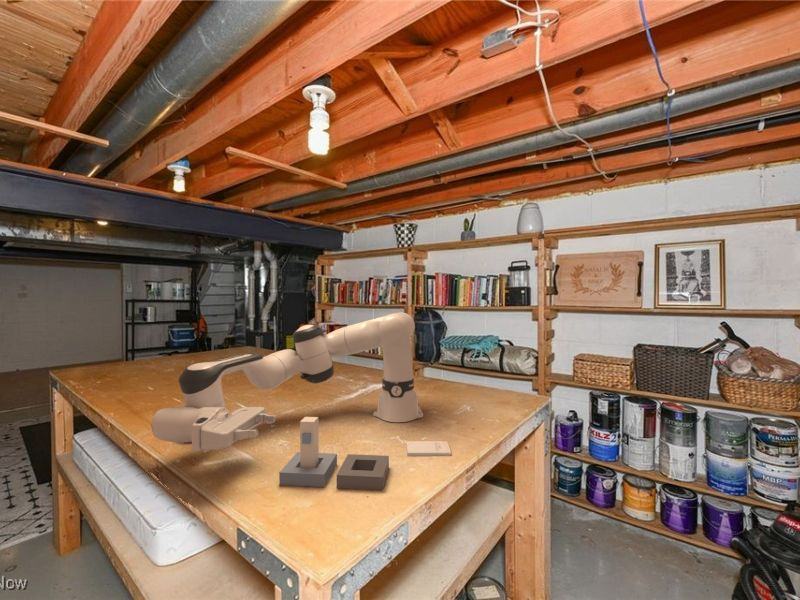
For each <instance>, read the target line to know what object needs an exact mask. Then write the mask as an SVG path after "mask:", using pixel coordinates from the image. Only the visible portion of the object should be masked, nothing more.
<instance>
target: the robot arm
mask: <svg viewBox="0 0 800 600" xmlns="http://www.w3.org/2000/svg"><path fill="white" fill-rule="evenodd" d="M415 328H416V324H415V320H414V319H413V317H412V316H411V315H410V314H408V313H406V312H402V311H399V312H394V313H389V314H387V315H385V316H381V317H377V318H376V317H375V318H373V319H369V320H364V321H362V322H358V323H354V324H350V325H347V326H343V327H340V328H338V329H335V330H333V331H331V332H329V333H326V332H327V330H326V329H323V328H322V327H321V326H318V325H315V324H306V325H303V326H301V327H300V326H299V328H298V329H297V330H295V331H294V332H293V334H292V340H293V343H294V345H295V350H294V349H291V348H287V349H282V350H278V351H275V352H273V353H270V354H268V355H266V356H263V355H262V354H261V353H257V352H247V353H241V354H238V355H233V356H228V357H224V358H221V359H216V360H212V361H204V362H203V361H202V362H198V363H193V364H190V365H187V366H186V367H185V369H183V371H182V373H181V374H180V375H179V377H178V380H177V382H178V384H179V387H180V390H181V392H182V396H183V401H184V405H183V406H175V407H174V406H173V407H165V408H161V409H159V410H157V411H156V412H155V413H154V416H153V418H152V420H151V431H152V434H153V437H154V438H156V439H157V440H159V441H163V442H169V443H183V444H185V443H184V442H189V441H192V443H191V446H192V447H191V448H192V452H200V451H204V450H205V451H216V450H218V451H219V450H223V449H227V448H229V447H230V446H231V445H233V444H235V442H237V441H241V440H242V441H243V440H246V439H254V438H256V437H257V436H258V435H259V430H258V429H259V428H255V427H257V426H258V425H260V424H261V423H266V424H267V425H268V424H269V425H270V424H271V425H272V424H274V423H275V422H276V416H275V415H270V414H267V413H266V408H265V407H263V406H250V407H249V406H248V407H247V406H245V407H240V408H238V409H236V410H234V411H232V412H229V410H228V408H227V407H226V401H225V397H224V392H223V386H222V380H223V377H224V375H228V374H230V373H235V372H237V371H241V370H242V371H243V373H244V374H245V376H246V377H247V379H248V381H249V382H250V383H251V384H252V385H253V386H254V387H256V388H258V389H261V390H265V391H266V390H268V391H269V390H273V389H274V388H276V387H278V386H280V385H281V384H283V383H285V382H286V381H287V380H289V379H290V378H292V377H293V376H295V375H298V374H301V375H300V376H299V377H300V380H305V381H306V382H308V383H311V384H314V385H315V384H322V383H324V382H325V383H326V382H327V381H328V380H329V379H331V378H332V377H333V375H334V374H335V370H334V369H335V368H334V364H333V362H332V361H333V360H332V357H333V358H334V357H336V358H337V357H345V356H350V355H356V354H358V353H362V352H363V353H364V352H367V351H370V350H374V349H378V348H381V353H382V361H383V362H382V363H383V369H382V370H383V373H382V374H383V375H382V376H383V377H382V381H381V389H382V390H381V391H380V392H379V393H378V398H377V399H378V400H377V409H376V410H374V412H373V414H372V415H373V417H375V418H376V417H377V418H379V419H381V420H382V421H384V422H390V423H406V422H407V423H408V422H411V421H413V420H416V419H421V418H424V413H423V411H422V409H421V407H420V404H419V401H418V400H419V399H418V397H419V395H418V394H417V392H416V391H415V390H414V388H415V380H414V374H413V366H414V365H413V364H414V363H413V360H414V359H413V353H412V347H411V346H412V345H411V344H412V343H411V336H413V334H414V332H415V330H416V329H415ZM324 333H326V334H324Z"/></svg>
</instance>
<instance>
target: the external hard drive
mask: <svg viewBox="0 0 800 600" xmlns="http://www.w3.org/2000/svg"><path fill="white" fill-rule="evenodd" d="M406 453H407V454H406V455H407V457H449V455H451V456H452V452H451V449H450V446H449V442H448V441H447V440H445V441H444V440H443V441H440V440H439V441H438V440H436V441H434V440H430V441H427V440H426V441H417V440H415V441H414V440H413V441H409V440H407V441H406Z"/></svg>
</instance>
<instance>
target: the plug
mask: <svg viewBox="0 0 800 600" xmlns="http://www.w3.org/2000/svg"><path fill="white" fill-rule="evenodd" d="M299 425H300V426H299V427H300V428H299V429H300V430H299V432H300V433H299V434H300V436H299V439H300V440H299V441H300V443H299V444H300V446H299V448H300V450H299V452H300V468H317V467H318V466H319V453H320V452H319V417H318V416H304V417H303V418H302V419H301V420H300V421H299Z"/></svg>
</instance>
